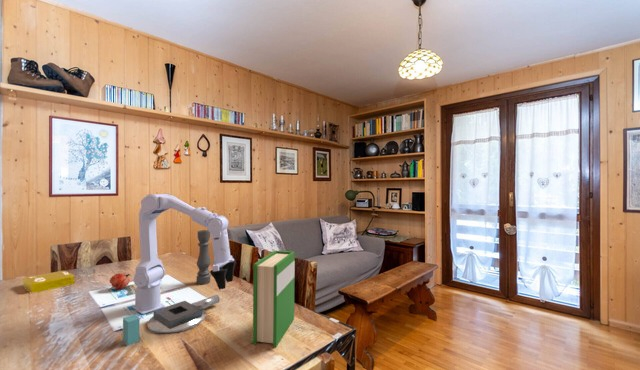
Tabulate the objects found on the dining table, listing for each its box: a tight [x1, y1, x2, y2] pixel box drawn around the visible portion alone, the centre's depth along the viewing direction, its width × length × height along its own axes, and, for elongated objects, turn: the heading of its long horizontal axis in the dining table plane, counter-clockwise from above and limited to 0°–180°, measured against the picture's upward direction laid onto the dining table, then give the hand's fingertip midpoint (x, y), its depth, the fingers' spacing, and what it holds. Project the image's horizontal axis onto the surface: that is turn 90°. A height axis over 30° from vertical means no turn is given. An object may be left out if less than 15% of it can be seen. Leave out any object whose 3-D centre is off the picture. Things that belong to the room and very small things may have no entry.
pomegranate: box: [108, 273, 131, 291], centre depth 126 cm, size 7×7×10 cm
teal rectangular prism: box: [122, 314, 141, 347], centre depth 84 cm, size 4×3×7 cm
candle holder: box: [196, 229, 211, 286], centre depth 135 cm, size 6×6×25 cm
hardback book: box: [252, 250, 296, 348], centre depth 91 cm, size 18×7×24 cm, turn 168°
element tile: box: [22, 270, 76, 293], centre depth 130 cm, size 15×15×5 cm
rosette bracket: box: [147, 294, 221, 335], centre depth 100 cm, size 18×24×4 cm
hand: (226, 285), depth 103 cm, fingers open, 7 cm apart
